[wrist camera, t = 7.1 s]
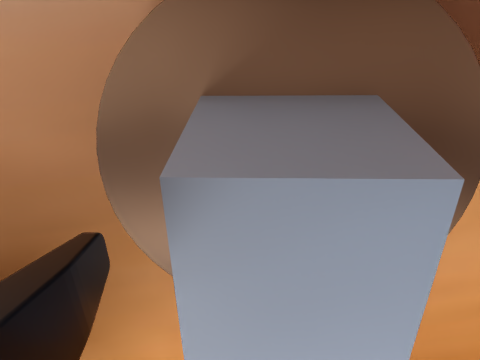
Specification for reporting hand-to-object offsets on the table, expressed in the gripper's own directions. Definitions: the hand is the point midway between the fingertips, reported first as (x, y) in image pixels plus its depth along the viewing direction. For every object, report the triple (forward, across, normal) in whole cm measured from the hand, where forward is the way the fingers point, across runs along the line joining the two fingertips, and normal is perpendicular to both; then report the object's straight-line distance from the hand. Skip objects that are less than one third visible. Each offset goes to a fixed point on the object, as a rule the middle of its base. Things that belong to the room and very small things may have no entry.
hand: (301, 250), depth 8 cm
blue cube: (+4, 0, 0) cm, 4 cm away
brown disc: (+6, 0, 0) cm, 6 cm away
